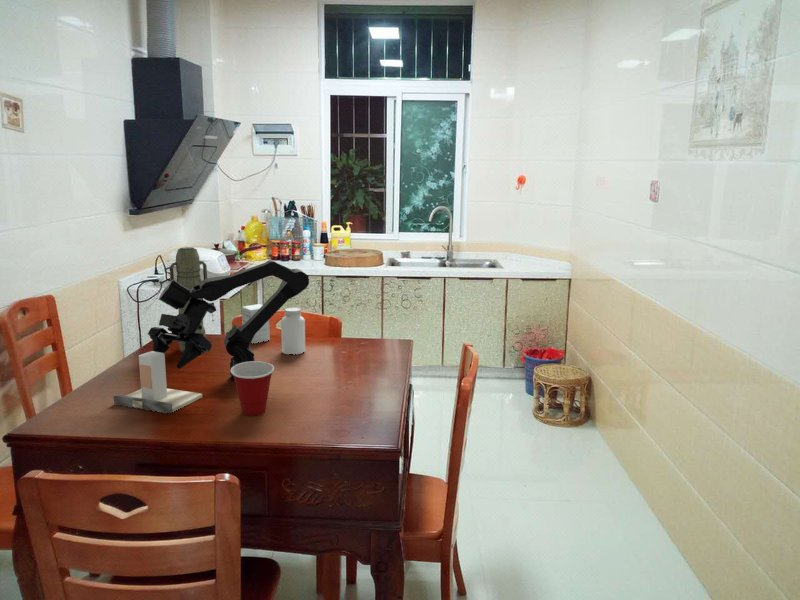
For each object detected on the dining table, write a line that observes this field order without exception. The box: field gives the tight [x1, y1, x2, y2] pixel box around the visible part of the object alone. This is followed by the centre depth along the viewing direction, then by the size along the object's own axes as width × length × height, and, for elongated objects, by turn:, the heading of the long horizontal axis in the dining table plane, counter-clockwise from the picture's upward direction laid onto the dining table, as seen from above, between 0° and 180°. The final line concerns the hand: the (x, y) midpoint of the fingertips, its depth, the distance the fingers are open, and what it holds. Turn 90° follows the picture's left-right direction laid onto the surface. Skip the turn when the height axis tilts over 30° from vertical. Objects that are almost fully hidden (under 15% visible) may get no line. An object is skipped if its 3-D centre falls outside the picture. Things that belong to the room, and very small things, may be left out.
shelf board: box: [113, 388, 203, 415], centre depth 168 cm, size 18×13×2 cm
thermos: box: [169, 246, 208, 353], centre depth 214 cm, size 9×12×35 cm
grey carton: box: [138, 350, 168, 401], centre depth 167 cm, size 5×4×12 cm
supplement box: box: [241, 303, 271, 345], centre depth 228 cm, size 7×7×13 cm
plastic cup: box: [229, 360, 275, 417], centre depth 160 cm, size 11×11×12 cm
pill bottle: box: [280, 307, 306, 356], centre depth 214 cm, size 8×8×15 cm
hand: (164, 365), depth 170 cm, fingers open, 9 cm apart
